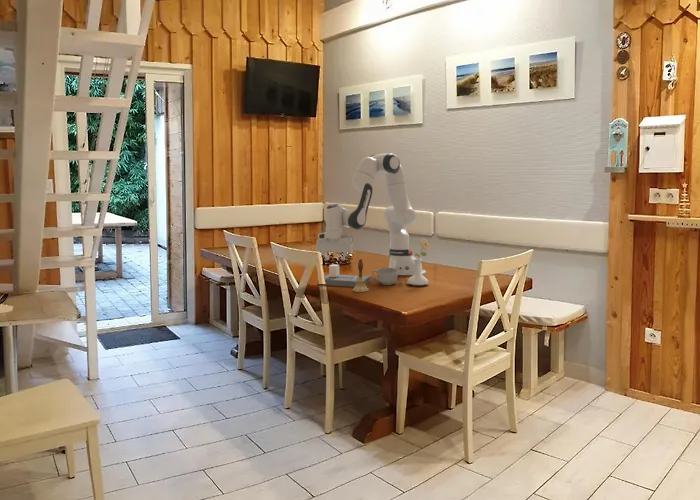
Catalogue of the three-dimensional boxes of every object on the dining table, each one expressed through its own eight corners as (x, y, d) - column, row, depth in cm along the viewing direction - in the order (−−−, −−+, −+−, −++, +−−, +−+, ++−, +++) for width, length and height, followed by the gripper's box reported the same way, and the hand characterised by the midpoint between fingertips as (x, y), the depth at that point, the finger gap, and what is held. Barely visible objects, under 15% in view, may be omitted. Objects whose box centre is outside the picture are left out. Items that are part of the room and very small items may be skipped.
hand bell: (350, 289, 314) (350, 258, 312) (365, 288, 317) (365, 257, 315) (356, 292, 307) (355, 261, 304) (371, 291, 309) (371, 260, 307)
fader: (339, 275, 334) (339, 264, 333) (336, 277, 329) (336, 266, 328) (332, 275, 335) (332, 264, 334) (329, 276, 330) (329, 265, 329)
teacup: (399, 282, 331) (400, 268, 330) (394, 286, 321) (394, 271, 320) (375, 281, 336) (375, 266, 334) (369, 285, 325) (369, 270, 324)
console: (370, 281, 334) (370, 276, 334) (361, 287, 319) (361, 281, 319) (329, 279, 342) (329, 273, 341) (318, 284, 327) (318, 278, 326)
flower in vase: (414, 287, 317) (415, 240, 314) (402, 284, 327) (403, 237, 324) (435, 285, 323) (436, 238, 320) (423, 281, 333) (423, 236, 330)
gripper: (354, 234, 328) (355, 259, 330) (319, 233, 335) (319, 258, 337) (350, 235, 322) (351, 261, 325) (314, 235, 329) (315, 260, 331)
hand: (335, 260), depth 331 cm, fingers open, 8 cm apart
